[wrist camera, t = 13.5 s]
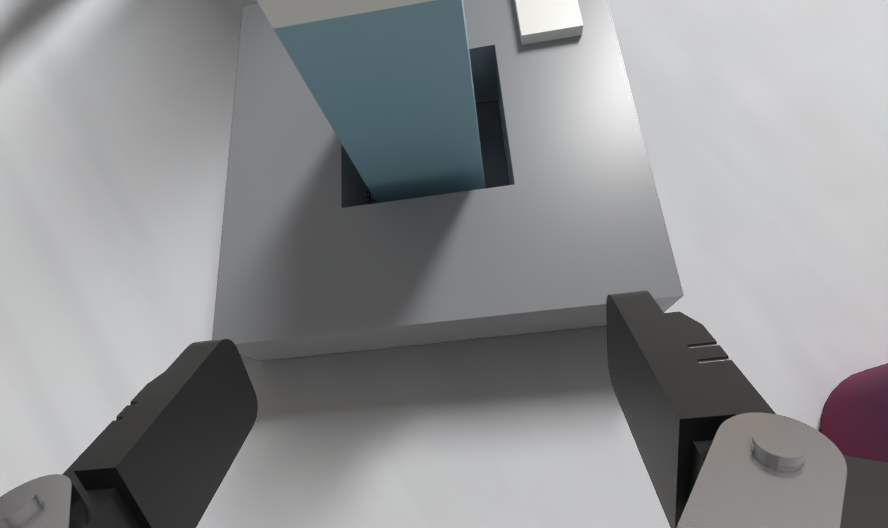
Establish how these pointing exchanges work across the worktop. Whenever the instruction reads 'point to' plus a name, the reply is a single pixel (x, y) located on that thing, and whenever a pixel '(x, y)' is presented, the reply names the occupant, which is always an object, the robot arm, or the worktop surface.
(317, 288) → the socket
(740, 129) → the worktop surface
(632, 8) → the worktop surface
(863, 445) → the cup
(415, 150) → the white-topped blue pillar
